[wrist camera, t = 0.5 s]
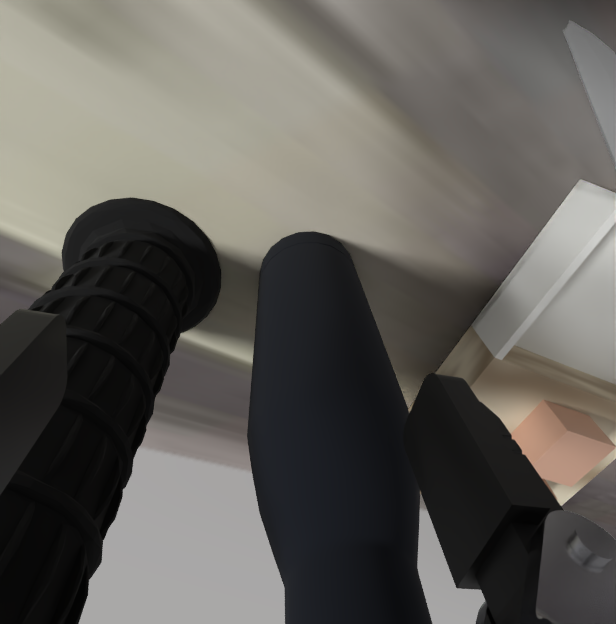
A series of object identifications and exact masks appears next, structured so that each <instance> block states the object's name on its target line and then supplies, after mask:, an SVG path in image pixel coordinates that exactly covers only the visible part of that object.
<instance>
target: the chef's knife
mask: <svg viewBox="0 0 616 624" xmlns="http://www.w3.org/2000/svg"><path fill="white" fill-rule="evenodd" d="M563 33H564V36H565V38H566V41H567V44H568V46H569V49H570V52H571V54H572V57H573V60H574V62H575V65H576V68H577V71H578V73H579V76H580V79H581V81H582V84H583V87H584V89H585V92H586V95H587V97H588V100H589V102H590V105H591V108H592V110H593V113H594V115H595V118H596V121H597V123H598V126H599V128H600V131H601V134H602V136H603V139H604V141H605V144H606V147H607V149H608V152H609V154H610V157H611V160H612V162H613V165H614V167H615V170H616V54H615V52H614V51H613V50H612V49H611V48H610V47H608V46H607V45H606V44H605V43H604V42H602V41H601V40H600V39H599V38H598V37H596V36H595V35H594V34H593V33H591V32H589V31H588V30H586V29H584V28H583V27H581V26H579V25H578V24H576V23H574V22H573V21H571V20H570V21H569V23H568V25H567V27H566V28H565V29H564V30H563Z"/></svg>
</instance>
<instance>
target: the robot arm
mask: <svg viewBox="0 0 616 624" xmlns="http://www.w3.org/2000/svg"><path fill="white" fill-rule="evenodd" d="M66 385H67V345H66V323H65V319H64V317H63V316H62V315H57V314H51V313H45V312H38V311H32V310H25V309H19V310H17V311H15V312H14V313H13V314H12V315H11V316H9V317H8V318H7V319H6V320H5V321H4V322H3V323H1V324H0V495H1V493H2V492H3V490H4V489H5V487H6V486H7V484H8V483H9V481H10V480H11V478H12V477H13V475H14V474H15V472H16V471H17V469H18V468H19V466H20V465H21V463H22V462H23V460H24V459H25V457H26V456H27V454H28V453H29V451H30V450H31V448H32V447H33V445H34V444H35V442H36V440H37V439H38V437H39V436H40V434H41V433H42V431H43V430H44V428H45V427H46V425H47V424H48V422H49V421H50V419H51V418H52V416H53V415H54V413H55V412H56V410H57V409H58V407H59V405H60V403H61V401H62V399H63V396H64V393H65V389H66ZM403 442H404V448H405V451H406V454H407V456H408V459H409V462H410V464H411V467H412V470H413V472H414V475H415V478H416V480H417V483H418V486H419V488H420V491H421V494H422V497H423V499H424V502H425V505H426V507H427V510H428V513H429V515H430V518H431V520H432V523H433V526H434V529H435V531H436V534H437V537H438V539H439V542H440V545H441V547H442V550H443V553H444V556H445V558H446V561H447V564H448V566H449V569H450V572H451V574H452V577H453V580H454V582H455V585H456V588H463V589H481V590H482V593H483V595H484V598H485V602H484V603H483V605H482V606H481V608H480V609H479V612H478V616H477V620H476V624H616V540H615V539H614V538H613V537H612V536H611V535H610V534H609V533H608V532H606V531H605V530H604V529H603V528H601V527H600V526H599V525H597V524H596V523H594V522H592V521H591V520H589V519H587V518H585V517H583V516H581V515H579V514H576V513H573V512H570V511H564V510H563V508H562V507H561V506H560V504H559V503H558V501H557V500H556V498H555V497H554V495H553V494H552V493H551V491H550V490H549V488H548V487H547V485H546V484H545V483H544V481H543V480H542V478H541V477H540V475H539V474H538V472H537V471H536V470H535V468H534V467H533V465H532V464H531V462H530V461H529V460H528V458H527V457H526V455H523V454H522V449H521V448H520V447H519V445H518V444H517V442H516V441H515V440H514V439H512V435H511V434H510V432H509V431H508V429H507V428H506V426H505V425H504V424H503V422H502V421H501V419H500V418H499V417H498V416H497V415H496V414H494V413H493V412H492V411H491V410H490V409H489V408H488V407H487V406H485V405H484V404H483V403H482V402H479V400H478V399H477V397H476V396H475V394H474V393H473V391H472V390H471V388H470V387H469V385H468V384H467V382H466V381H465V380H464V379H463V378H460V377H453V376H447V375H440V374H434V373H431V374H429V375H428V376H427V377H426V378H425V379H424V381H423V384H422V386H421V388H420V390H419V393H418V395H417V397H416V399H415V402H414V404H413V406H412V409H411V411H410V413H409V415H408V418H407V420H406V423H405V426H404V432H403Z"/></svg>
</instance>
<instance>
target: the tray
mask: <svg viewBox="0 0 616 624" xmlns="http://www.w3.org/2000/svg"><path fill="white" fill-rule="evenodd" d="M471 326H472V327H473V329H474V330H475V331H476V333H477V334H478V336H479V337H480V338H481V340H482V341H483V342H484V344H485V345H486V346H487V348H488V349H489V351H490V352H491V353H492V355H493V356H494V357H495V358H497V359H500V360H502V359H503V358H504V357H505V356H506V354H507V353H508V352H509V351H510V350H511V348H512V347H513V346H514V345H515V346H518V347H520V348H523V349H525V350H528V351H530V352H533V353H536V354H538V355H541V356H543V357H546V358H548V359H551V360H554V361H556V362H559V363H561V364H564V365H566V366H569V367H572V368H574V369H577V370H579V371H582V372H584V373H587V374H590V375H592V376H595V377H597V378H600V379H602V380H605V381H608V382H610V383H613V384H615V385H616V193H615V192H612V191H610V190H607V189H605V188H602V187H600V186H597V185H594V184H592V183H589V182H587V181H584V180H582V179H580V180H579V181H578V182H577V184H576V185H575V186H574V188H573V189H572V190H571V192H570V193H569V195H568V196H567V197H566V199H565V200H564V201H563V203H562V204H561V205H560V207H559V208H558V209H557V211H556V212H555V213H554V215H553V216H552V217H551V219H550V220H549V221H548V223H547V224H546V225H545V227H544V228H543V229H542V231H541V232H540V233H539V235H538V236H537V237H536V239H535V240H534V241H533V243H532V244H531V245H530V247H529V248H528V249H527V251H526V252H525V253H524V255H523V256H522V258H521V259H520V260H519V262H518V263H517V264H516V266H515V267H514V268H513V270H512V271H511V272H510V274H509V275H508V276H507V278H506V279H505V280H504V282H503V283H502V284H501V286H500V287H499V288H498V290H497V291H496V292H495V294H494V295H493V296H492V298H491V299H490V300H489V302H488V303H487V304H486V306H485V307H484V308H483V310H482V311H481V312H480V314H479V315H478V316H477V318H476V319H475V321H474V322H473V323H472V325H471Z"/></svg>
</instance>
